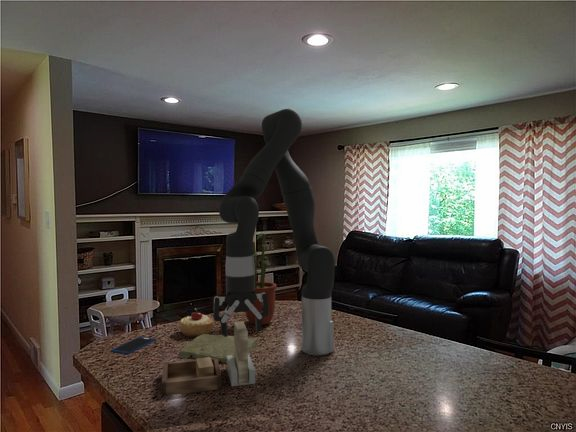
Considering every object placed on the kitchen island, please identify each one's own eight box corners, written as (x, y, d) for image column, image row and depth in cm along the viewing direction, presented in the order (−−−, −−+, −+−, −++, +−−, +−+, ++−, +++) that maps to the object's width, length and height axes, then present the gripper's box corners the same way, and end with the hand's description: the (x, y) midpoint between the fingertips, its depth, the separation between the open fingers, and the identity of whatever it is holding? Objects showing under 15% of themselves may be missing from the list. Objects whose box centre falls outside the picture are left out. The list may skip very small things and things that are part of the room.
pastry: (184, 342, 134) (183, 316, 134) (176, 331, 144) (175, 307, 144) (218, 335, 140) (217, 310, 139) (208, 325, 150) (207, 302, 150)
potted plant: (283, 322, 154) (283, 232, 153) (254, 332, 142) (254, 235, 141) (252, 314, 165) (252, 230, 164) (223, 322, 154) (222, 233, 153)
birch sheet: (243, 368, 109) (243, 321, 109) (248, 382, 100) (247, 331, 100) (234, 368, 108) (234, 321, 108) (238, 383, 100) (238, 332, 99)
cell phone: (157, 340, 135) (157, 338, 135) (128, 355, 122) (128, 353, 122) (139, 338, 137) (139, 336, 137) (109, 353, 124) (109, 350, 124)
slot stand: (248, 369, 110) (248, 353, 110) (255, 387, 100) (255, 369, 100) (226, 371, 109) (226, 355, 109) (231, 390, 98) (231, 372, 98)
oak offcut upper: (210, 365, 105) (210, 356, 105) (213, 375, 99) (213, 366, 99) (196, 367, 104) (196, 358, 104) (199, 377, 98) (199, 368, 98)
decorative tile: (200, 342, 134) (200, 331, 134) (257, 346, 130) (257, 335, 130) (173, 364, 115) (173, 352, 115) (239, 369, 111) (239, 357, 111)
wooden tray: (217, 371, 109) (217, 357, 109) (221, 392, 97) (221, 376, 97) (164, 377, 105) (163, 362, 105) (161, 400, 93) (161, 383, 93)
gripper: (263, 268, 109) (265, 327, 109) (211, 272, 105) (212, 332, 105) (270, 273, 101) (271, 335, 102) (213, 277, 98) (215, 342, 98)
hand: (241, 334), depth 104 cm, fingers open, 8 cm apart
